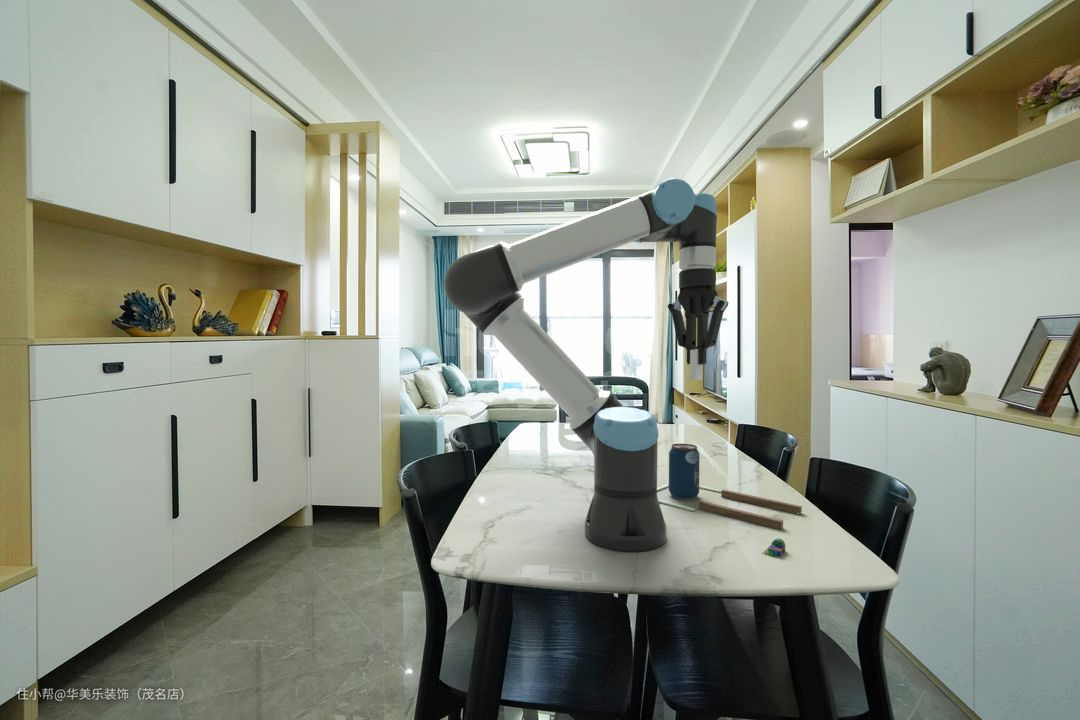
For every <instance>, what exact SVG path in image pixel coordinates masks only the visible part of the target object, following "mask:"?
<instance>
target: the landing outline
mask: <svg viewBox="0 0 1080 720" xmlns="http://www.w3.org/2000/svg"><path fill="white" fill-rule="evenodd" d="M667 488H669V482H668V483H667V484H664V485H662V486H658V487H657V492H660V491H662V490H665V489H667ZM699 489H702V490H705V491H711V492H715V493H716V492H717V493H719V494H721V491H722V490H723V489H722V490H721V489H718V488H717V489H716V488H712V487H708V486H703V485H699ZM658 501H659V504H663V505H665V506H670V507H673V508H677V509H682V510H686V511H690V512H695V511H696V510H695V508H693V507H689V506H686V505H681V504H679V503H673V502H671V501H670V502H669V501H666V500H662V499H658Z"/></svg>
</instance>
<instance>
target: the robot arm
mask: <svg viewBox="0 0 1080 720" xmlns="http://www.w3.org/2000/svg"><path fill="white" fill-rule="evenodd" d="M717 224H718V212H717V200H716V198H715V196H713V195H712V194H709V193H706V192H705V193H703V192H702V193H701V192H700V193H699V192H698V193H695V192H694V190H693V188H692V186H691V185H690V184H689V183H688V182H686V181H685V180H684V179H681V178H676V177H674V178H668V179H666V180H664V181H662V182H661V183H659V184H658V185H657V186H656V187H655V188H654V189H652V190H649V191H647V192H644V193H642V194H639V195H637V196H635V197H632V198H629V199H627V200H623V201H621V202H619V203H616V204H613V205H611V206H608V207H605V208H602V209H599V210H598V211H594V212H592V213H590V214H587V215H583V216H581V217H579V218H576V219H574V220H571V221H568V222H565V223H564V224H560V225H558V226H555V227H552V228H550V229H547V230H545V231H542V232H539V233H537V234H534V235H531V236H529V237H527V238H524V239H523V238H522V240H519V241H518V240H517V241H516V242H514V243H511V244H509V243H505V242H503V241H500V242H498V243H493V244H492V245H489V246H486V247H483V248H480V249H478V250H477V249H476V250H475V251H472V252H469V253H467V254H464V255H462V256H460V257H458V258H457V259H456V260H454V261H453V262H452V263H451V265H450V266H449V267H447V268H448V269H447V270H446V273H445V275H444V279H443V285H444V287H443V289H444V292H445V293H444V294H445V295H446V296H445V297H446V298H447V299H448V302H449V303H450V304H451V305H452V306H453V307H454V308H455V309H456V310H458V311H459V312H461V313H463V314H464V315H465V316H466V317H467V318H468V320H469V321H471V323H472V324H473V325H474V326H475V327H476V328H477V329H478V330H479V331H480V332H481V334H483V335H484V336H492V337H493V336H494V337H495V338H496V339H497V340H498V341H499V342H500V343H501V344H502V345H503V347H504V348H505V350H507V351H508V352H509V353H510V354H511V356H513V358H515V360H516V361H517V362H518V363H519V364H520V365H521V366H522V367H523V368H524V369H525V371H527V373H528V374H529V375H530V376H531V377H532V378H533V379H534V381H536V382H537V383H538V385H539V386H540V387H541V388H542V389H544V391H545V392H546V393H547V394H548V396H550V397H551V398H552V399H553V401H554V403H555V402H556V404H557V405H558V406H559V407H560V408H561V409H562V410H563V412H565V414H566V415H568V416H569V428H570V429H571V430H572V431H573V433H575V435H577V437H578V438H579V439H580V440H581V441H582V442H583V444H584V445H585V446H586V447H587V448H588V449H589V450H590V451H591V453H592V455H593V460H594V461H593V464H594V466H593V470H594V473H593V474H594V475H593V478H594V479H593V480H594V481H593V483H594V485H593V486H594V487H593V488H594V492H593V495H592V499H591V502H590V505H589V507H588V512H587V513H586V518H585V519H584V520H585V521H584V535H585V538H587V539H588V541H590V542H591V543H592V544H594V545H597V546H600V547H602V548H605V549H609V550H613V551H620V552H645V551H651V550H654V549H657V548H660V547H661V546H662V545H664V544H665V543H666V541H667V524H666V521H665V518H664V515H663V512H662V509H661V505H660V503H659V501H658V500H659V498H658V491H657V488H658V439H659V429H658V421H657V419H656V416H655V415H653V414H652V413H651V412H650V411H647V410H645V409H640V408H637V407H631V406H630V407H629V406H628V407H627V406H624V405H623V404H622V402H620V401H619V400H618V399H617V397H616V396H615V395H614V394H613V393H612V392H611V391H610V390H600V389H598V387H597V386H596V385H595V384H594V383H593V382H592V381H591V380H590V379H589V378H588V377H587V375H586V374H585V373H584V372H583V371H582V370H581V369H580V367H578V366H577V365H576V364H575V362H574V361H573V360H572V359H571V358H570V357H569V355H567V354H566V353H565V352H564V351H563V349H562V348H561V347H560V345H558V344H557V343H556V342H555V340H553V338H551V336H550V335H549V334H548V333H547V332H546V331H545V330H544V329H543V328H542V326H540V324H538V322H537V321H536V319H534V318H533V317H532V316H531V315H530V313H528V312H527V310H526V309H525V307H524V305H525V303H524V296H522V295H521V293H520V292H521V290H522V288H523V286H524V285H525V284H527V283H529V282H532V281H534V280H537V279H539V278H540V279H541V278H543V277H544V276H547V275H550V274H553V273H554V272H557V271H560V270H563V269H566V268H568V267H570V266H573V265H575V264H578V263H580V262H584V261H585V260H586V261H587V260H588V259H590V258H591V259H592V258H593V257H597V256H599V255H601V254H603V253H604V254H605V253H607V252H609V251H611V250H612V251H613V250H614V249H617V248H620V247H622V246H625V245H626V244H630V243H633V242H634V243H639V244H641V243H679V244H678V245H679V246H678V252H679V255H678V256H679V258H678V269H680V271H679V273H678V288H679V292H678V295H677V299H676V300H675V301H673V302H672V303H668V304H667V308H668V310H669V312H670V313H671V317H672V322H673V326H674V331H675V335H676V340H677V344H678V346H679V347H681V348H684V349H685V350H686V364H687V365H689V372H690V373H689V380H690V381H703V367H704V366H703V365H706V363H707V352H708V351H707V350H708V349H709V348H712V347H715V346H716V345H717V344H716V343H717V340H718V336H719V332H720V327H721V325H722V319H723V317H724V312H725V311H726V310H727V307H728V306H729V301H727V300H723V299H721V298H720V297H719V295H718V292H717V291H716V287H717V286H716V285H717V271H716V270H715V269H714V268H715V267H717ZM712 306H713V310H712V313H711V316H710V309H711V308H712ZM682 308H683V310H684V316H683V312H682ZM709 317H711V318H710V321H709ZM684 318H685V320H684ZM708 324H709V325H708Z"/></svg>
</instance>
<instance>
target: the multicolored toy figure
mask: <svg viewBox="0 0 1080 720" xmlns="http://www.w3.org/2000/svg"><path fill="white" fill-rule="evenodd" d="M785 552H786V543H785V541H784V540H783V539H782V538H779V537H778V538H775V539H774V540H772V542H771V544H770V545H769V546H768V547H767V548H766V549H765V550H764V551H763V552H762V553H761V555H763V554H765V555H764V556H767V555H768V557H770V556H771V558H773V557H778V558H781V557H782V555H783V554H784V553H785Z"/></svg>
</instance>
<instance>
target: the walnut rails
mask: <svg viewBox="0 0 1080 720" xmlns="http://www.w3.org/2000/svg"><path fill="white" fill-rule="evenodd" d="M720 494H721V498H724V499H726V498H727V499H730V500H733V501H734V500H735V501H738V502H742V501H743V503H746V504H752V505H755V506H761V507H766V508H768V509H769V508H770V509H775V510H779V511H784V512H786V511H787V513H791V512H793V513H792V514H795V513H799V514H798V515H801V514H802V513H801V512H803V510H802V509H803V506H802V505H798V504H793V503H789V502H784V501H780V500H775V499H771V498H765V497H761V496H756V495H752V494H747V493H742V492H736V491H733V490H728V489H724V488H723V489H722V491H721V493H720ZM697 504H698V505H697V507H698V510H702V511H705V512H709V513H714V514H718V515H722V516H726V517H730V518H734V519H737V520H741V521H745V522H749V523H753V524H757V525H761V526H765V527H769V528H772V529H777V530H783V528H784V519H783V520H782V519H778V518H775V517H770V516H765V515H762V514H757V513H753V512H749V511H746V510H742V509H741V510H740V509H736V508H733V507H729V506H724V505H720V504H716V503H712V502H708V501H703V500H699V501H698V503H697ZM800 513H801V514H800Z"/></svg>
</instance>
